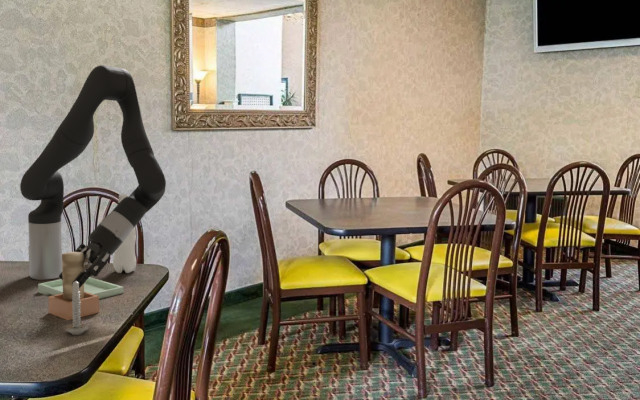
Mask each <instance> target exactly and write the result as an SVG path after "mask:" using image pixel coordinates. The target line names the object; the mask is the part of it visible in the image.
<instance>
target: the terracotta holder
mask: <svg viewBox="0 0 640 400" xmlns="http://www.w3.org/2000/svg"><path fill="white" fill-rule="evenodd" d="M47 299H48V314H50V315H53V316H56V317H59V318H61V319H64V320H66V321H70V320H71V321H73V317H72V316H73V312H72V311H73V309H72V308H73V307H72V306H73V304H72V303H73V302H72V301H71V302H67V301H65V300H63V294H58V295H50V296H48V298H47ZM80 304H81V305H80V306H81V307H80V309H81V310H80V311H81V313H80V314H81V315H80V316H81V318H82V317H86V316H91V315H94V314H99V313H100V299H99V296H97V295H94V294H91V293H88V292H85V291H84V299H81V300H80Z"/></svg>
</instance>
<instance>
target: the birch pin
mask: <svg viewBox="0 0 640 400" xmlns="http://www.w3.org/2000/svg"><path fill="white" fill-rule="evenodd" d="M83 269H84V253H82V252H74V251H68V252H64V253H63V252H62V276H63V300H65V301H67V302H71V301H73V299H72V298H73V297H72V295H73V294H72V293H73V285H72V282H73V281H74V280H75V278H76V277H77V276H78V275H79V274H80V273H81V272H83ZM79 291H80V292H79V293H80V299H84V284H83V285H82V286H81V287H80V288H79Z"/></svg>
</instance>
